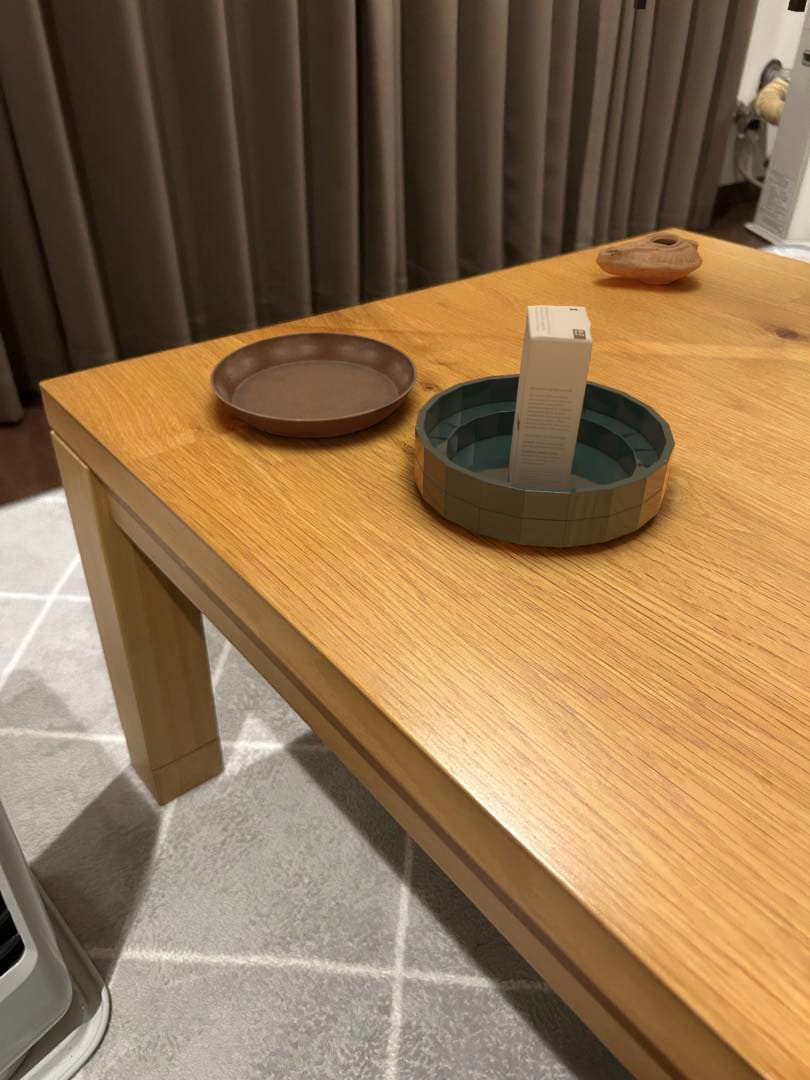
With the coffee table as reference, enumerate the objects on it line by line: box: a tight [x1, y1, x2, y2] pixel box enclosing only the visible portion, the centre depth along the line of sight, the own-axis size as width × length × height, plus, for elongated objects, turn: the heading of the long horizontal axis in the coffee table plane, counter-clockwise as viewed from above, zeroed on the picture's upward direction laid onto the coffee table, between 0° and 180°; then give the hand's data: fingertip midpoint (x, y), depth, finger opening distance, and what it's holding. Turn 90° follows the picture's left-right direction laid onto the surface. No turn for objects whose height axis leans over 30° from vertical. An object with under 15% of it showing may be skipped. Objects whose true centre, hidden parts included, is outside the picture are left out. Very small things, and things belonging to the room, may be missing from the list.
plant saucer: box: [209, 331, 418, 439], centre depth 75 cm, size 18×18×3 cm
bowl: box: [413, 373, 676, 548], centre depth 63 cm, size 18×18×5 cm
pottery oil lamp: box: [595, 231, 704, 286], centre depth 103 cm, size 9×12×7 cm
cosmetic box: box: [509, 304, 594, 489], centre depth 61 cm, size 6×4×12 cm
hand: (716, 10), depth 77 cm, fingers open, 13 cm apart
